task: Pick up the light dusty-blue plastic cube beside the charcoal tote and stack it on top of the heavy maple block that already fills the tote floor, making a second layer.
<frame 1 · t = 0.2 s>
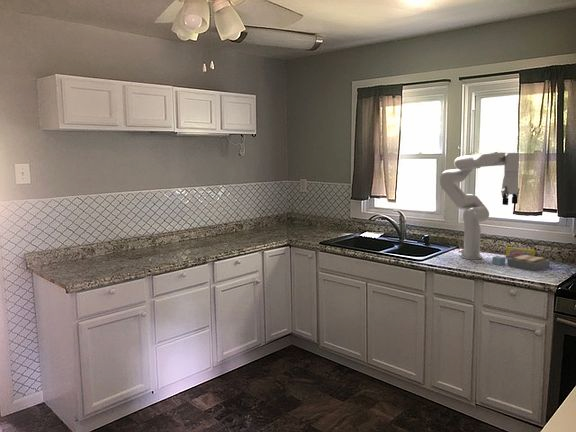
hand: (510, 204, 285), 36 cm above the worktop, tool pointing down, fingers open, 9 cm apart
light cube: (498, 265, 288), on the worktop
candy box: (519, 262, 297), on the worktop
tote: (528, 268, 281), on the worktop
maple block: (528, 266, 281), point 1 cm above the worktop, touching tote
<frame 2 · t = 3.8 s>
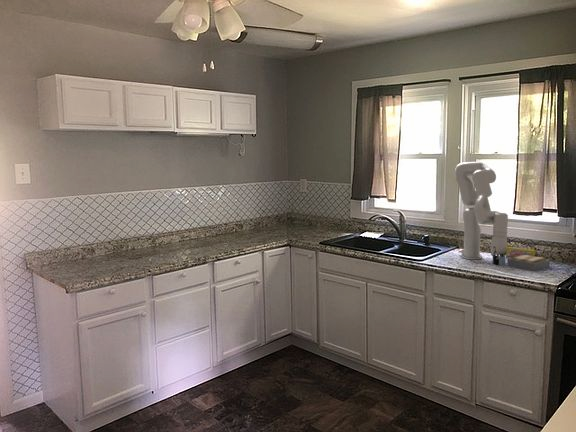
hand: (498, 264, 288), 0 cm above the worktop, tool pointing down, fingers closed on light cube, 4 cm apart
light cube: (498, 265, 288), on the worktop, touching gripper
everything else where it was.
when the fingers open (8 cm above the worktop, at t = 9.5 s): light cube drops 1 cm, resting on maple block.
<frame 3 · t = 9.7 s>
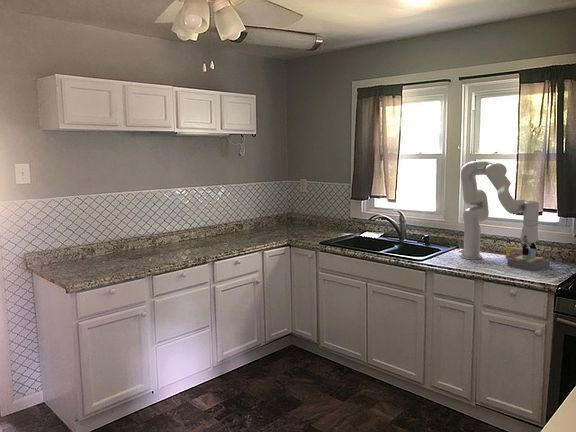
hand: (528, 253, 280), 8 cm above the worktop, tool pointing down, fingers open, 7 cm apart
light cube: (528, 257, 280), point 6 cm above the worktop, touching maple block
maple block: (528, 266, 281), point 1 cm above the worktop, touching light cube, tote
everything else where it was.
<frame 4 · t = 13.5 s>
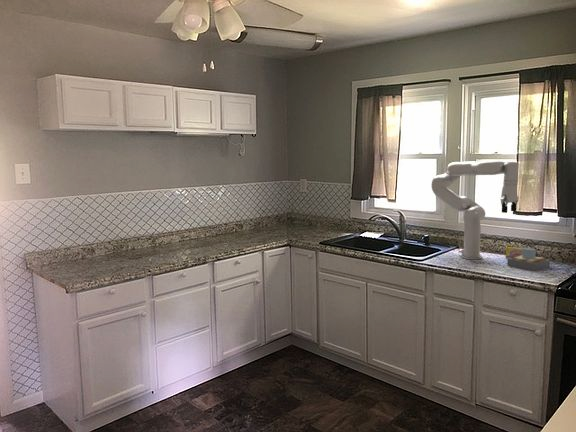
hand: (509, 211, 293), 30 cm above the worktop, tool pointing down, fingers open, 9 cm apart
nothing on the worktop moved.
at the end: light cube inside the target area on the tote (0.0 cm from its centre), point 6.0 cm above the tote's base; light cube tilted 0°; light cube touching maple block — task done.
